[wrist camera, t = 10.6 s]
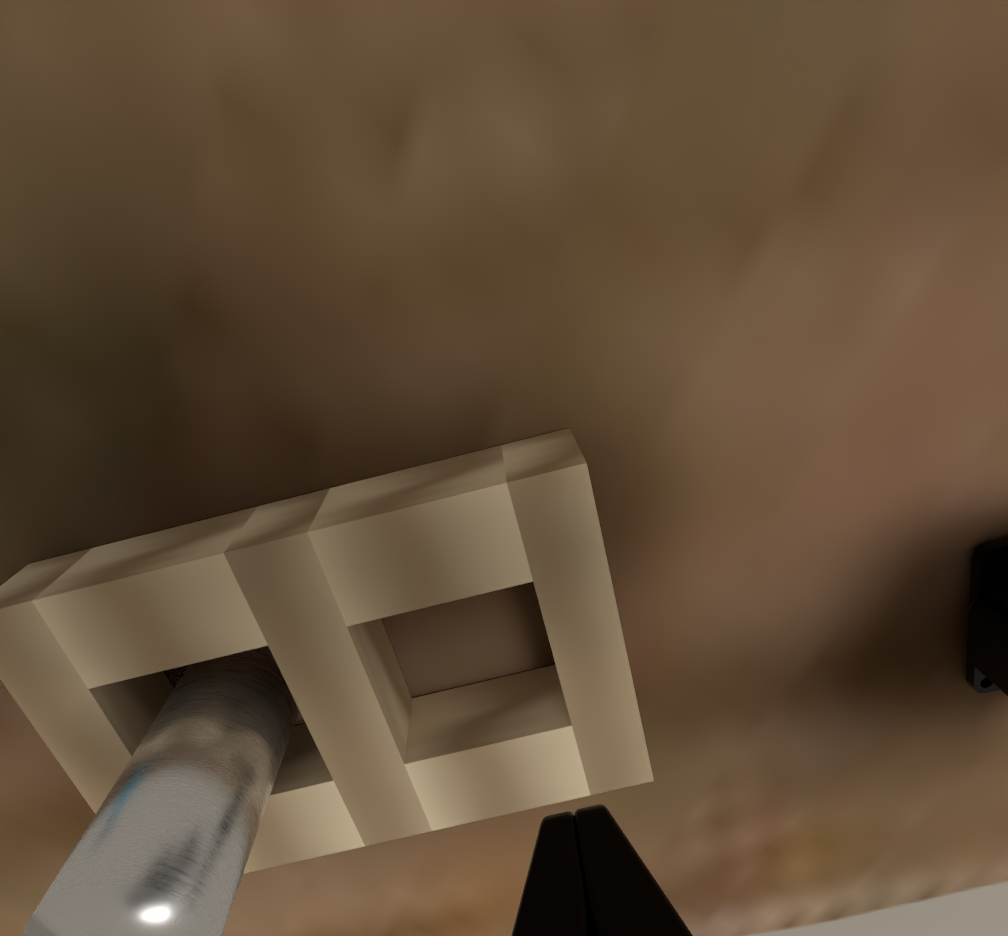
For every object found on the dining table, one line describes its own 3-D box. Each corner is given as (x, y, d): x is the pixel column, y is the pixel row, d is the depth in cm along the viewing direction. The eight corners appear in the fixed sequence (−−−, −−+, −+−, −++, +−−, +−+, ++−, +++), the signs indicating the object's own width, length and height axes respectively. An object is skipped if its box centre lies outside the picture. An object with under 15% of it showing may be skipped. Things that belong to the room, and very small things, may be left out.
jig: (569, 427, 19) (586, 463, 16) (632, 715, 24) (653, 780, 21) (28, 563, 20) (-43, 619, 17) (187, 817, 24) (152, 894, 22)
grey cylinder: (284, 615, 21) (166, 870, 13) (324, 703, 23) (241, 982, 14) (174, 642, 21) (-13, 910, 13) (221, 727, 23) (80, 1017, 15)
